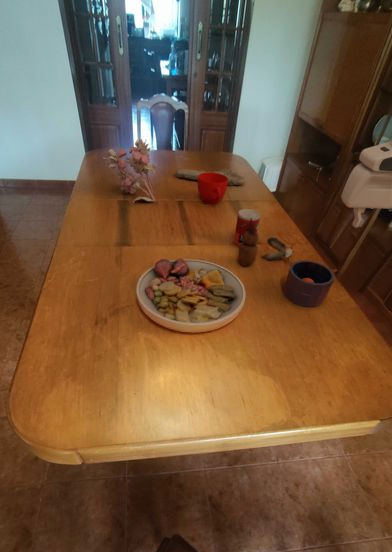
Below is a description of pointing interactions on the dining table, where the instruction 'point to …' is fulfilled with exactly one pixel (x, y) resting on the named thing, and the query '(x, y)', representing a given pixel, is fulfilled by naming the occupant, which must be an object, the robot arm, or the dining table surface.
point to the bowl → (190, 295)
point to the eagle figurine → (280, 247)
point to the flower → (138, 165)
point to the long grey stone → (232, 177)
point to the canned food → (245, 224)
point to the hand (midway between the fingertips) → (376, 226)
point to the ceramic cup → (212, 187)
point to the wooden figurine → (248, 246)
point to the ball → (308, 280)
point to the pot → (308, 283)
